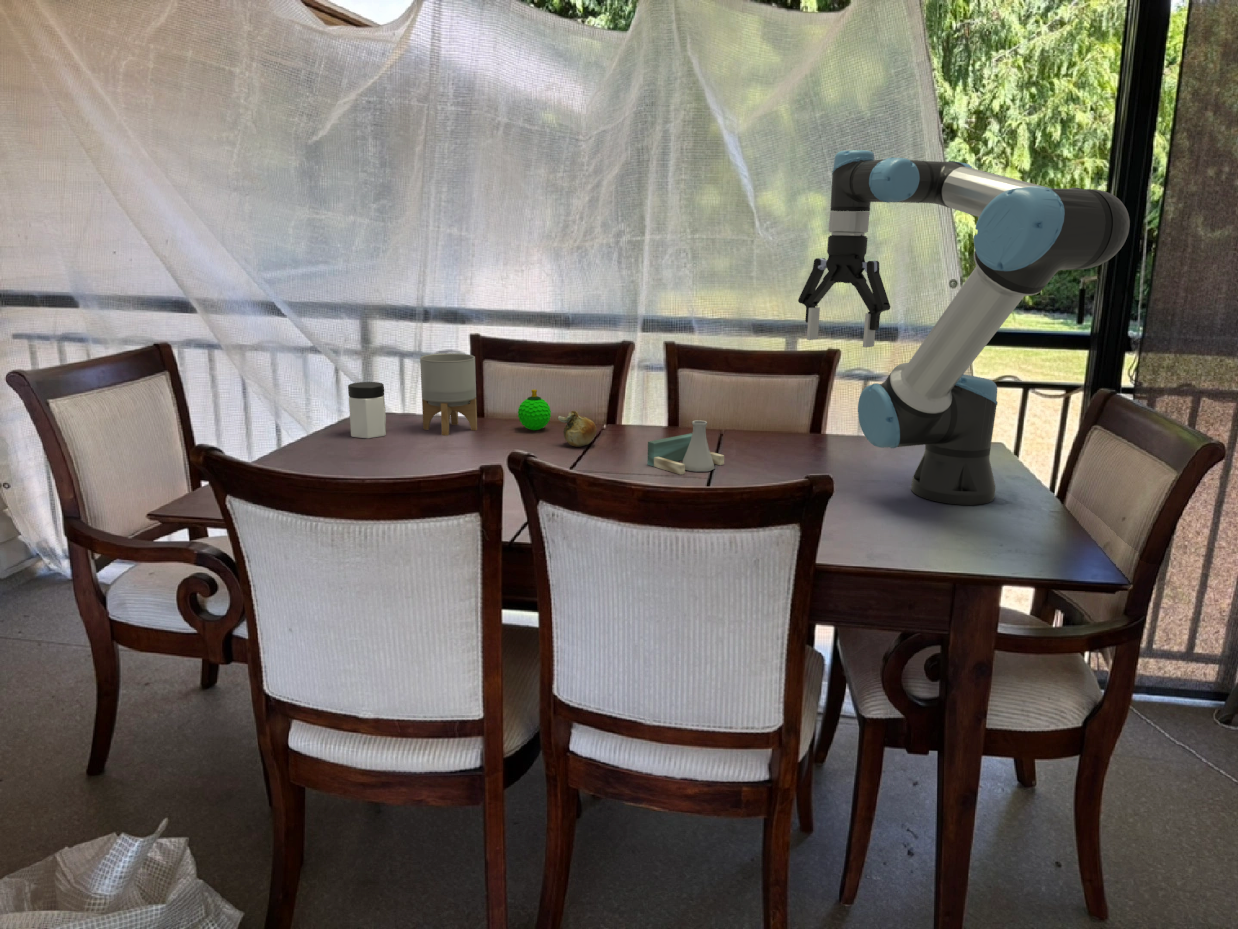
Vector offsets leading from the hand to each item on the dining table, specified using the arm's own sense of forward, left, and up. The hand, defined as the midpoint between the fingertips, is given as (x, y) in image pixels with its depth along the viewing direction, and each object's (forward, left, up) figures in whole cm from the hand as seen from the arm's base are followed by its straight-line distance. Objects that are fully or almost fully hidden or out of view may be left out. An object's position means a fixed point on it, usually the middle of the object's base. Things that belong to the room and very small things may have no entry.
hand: (839, 343), depth 181 cm
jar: (+88, +61, -27) cm, 110 cm away
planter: (+81, +43, -27) cm, 96 cm away
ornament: (+68, +27, -27) cm, 78 cm away
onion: (+49, +28, -27) cm, 63 cm away
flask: (+19, +20, -27) cm, 39 cm away
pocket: (+22, +21, -27) cm, 40 cm away
